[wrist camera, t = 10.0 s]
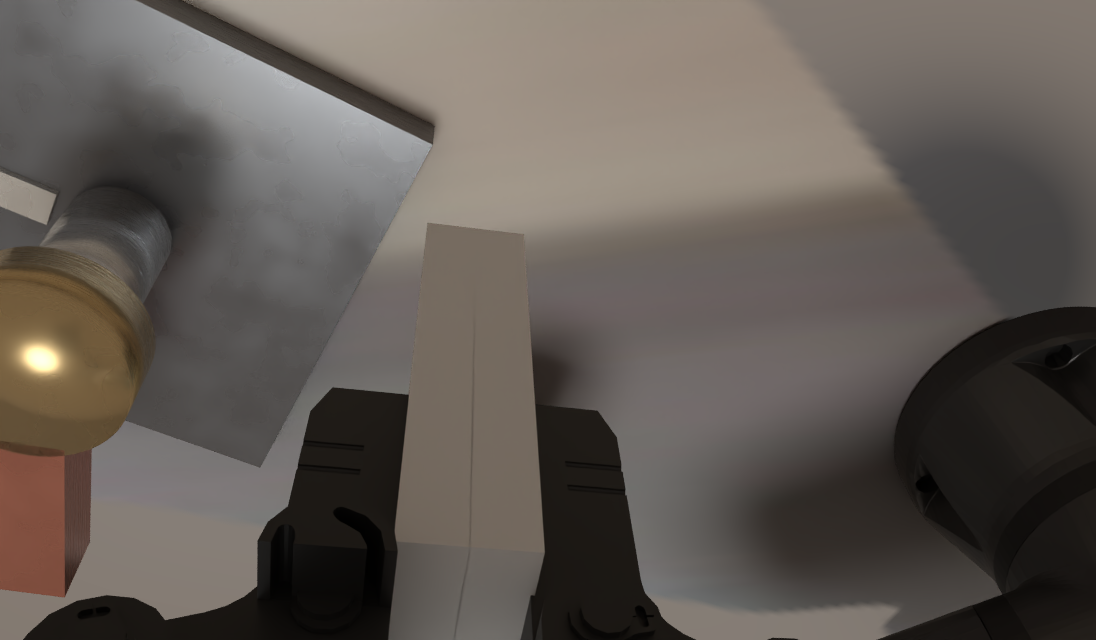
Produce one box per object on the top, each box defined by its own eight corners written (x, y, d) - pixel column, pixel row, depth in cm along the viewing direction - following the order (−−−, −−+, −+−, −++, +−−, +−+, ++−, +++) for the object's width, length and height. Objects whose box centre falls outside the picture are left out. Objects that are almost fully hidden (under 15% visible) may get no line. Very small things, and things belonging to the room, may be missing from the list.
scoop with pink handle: (-54, 227, 33) (-98, 273, 31) (160, 268, 34) (134, 315, 32) (-31, 525, 41) (-65, 580, 38) (143, 549, 42) (121, 604, 40)
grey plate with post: (434, 125, 42) (423, 225, 34) (267, 441, 51) (229, 574, 44) (-61, -119, 36) (-206, -62, 28) (-149, 291, 45) (-276, 416, 37)
